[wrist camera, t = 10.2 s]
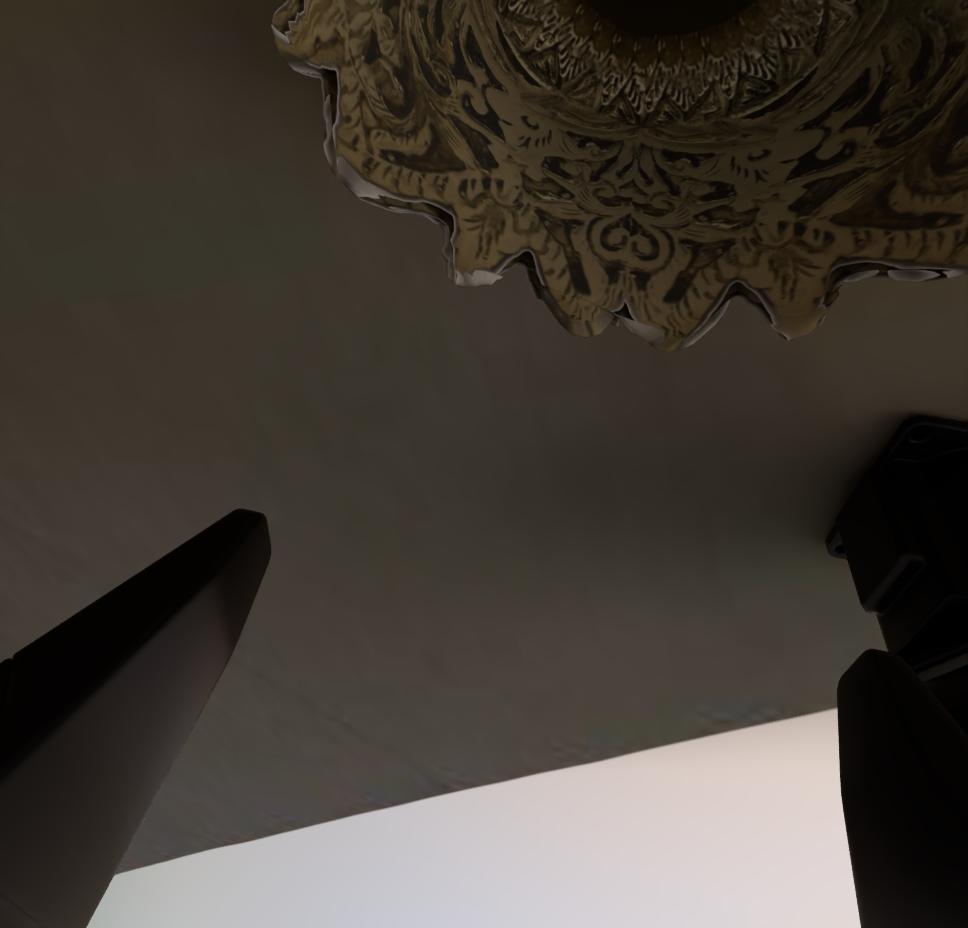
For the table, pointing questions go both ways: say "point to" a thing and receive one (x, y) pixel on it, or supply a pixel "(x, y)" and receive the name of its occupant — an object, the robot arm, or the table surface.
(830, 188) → the ornate brown dome cover
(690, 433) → the table surface
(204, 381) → the table surface
